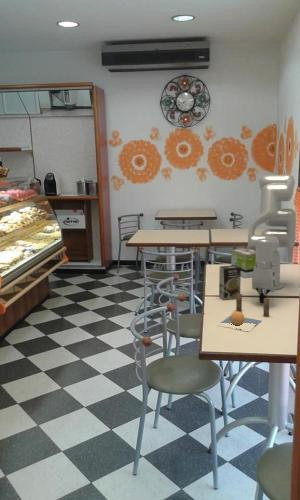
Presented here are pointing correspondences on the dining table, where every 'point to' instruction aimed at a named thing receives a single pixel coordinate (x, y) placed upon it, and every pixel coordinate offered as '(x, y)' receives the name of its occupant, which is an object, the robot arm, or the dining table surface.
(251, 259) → the tea box
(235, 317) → the ball
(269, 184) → the robot arm
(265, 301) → the post
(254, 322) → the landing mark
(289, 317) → the dining table surface
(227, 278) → the coffee box
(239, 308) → the post
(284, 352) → the dining table surface
